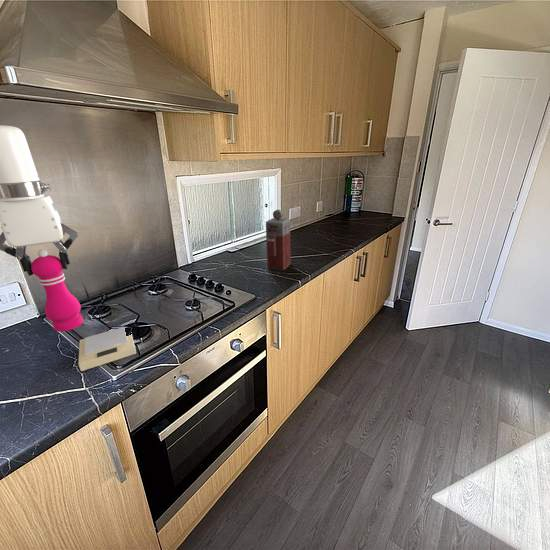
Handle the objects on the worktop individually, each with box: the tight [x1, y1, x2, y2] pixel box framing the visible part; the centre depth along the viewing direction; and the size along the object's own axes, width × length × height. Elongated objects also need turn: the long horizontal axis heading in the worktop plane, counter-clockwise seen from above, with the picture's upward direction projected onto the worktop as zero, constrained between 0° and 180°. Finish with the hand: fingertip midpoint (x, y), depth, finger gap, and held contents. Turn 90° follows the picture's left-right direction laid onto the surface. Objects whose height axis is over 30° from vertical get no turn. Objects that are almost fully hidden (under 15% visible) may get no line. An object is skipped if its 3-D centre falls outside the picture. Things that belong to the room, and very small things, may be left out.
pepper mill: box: [31, 249, 84, 333], centre depth 70 cm, size 7×7×20 cm
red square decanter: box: [265, 209, 292, 271], centre depth 140 cm, size 9×11×28 cm
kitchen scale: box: [78, 326, 137, 372], centre depth 87 cm, size 14×13×3 cm
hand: (49, 269), depth 69 cm, fingers closed on pepper mill, 6 cm apart
